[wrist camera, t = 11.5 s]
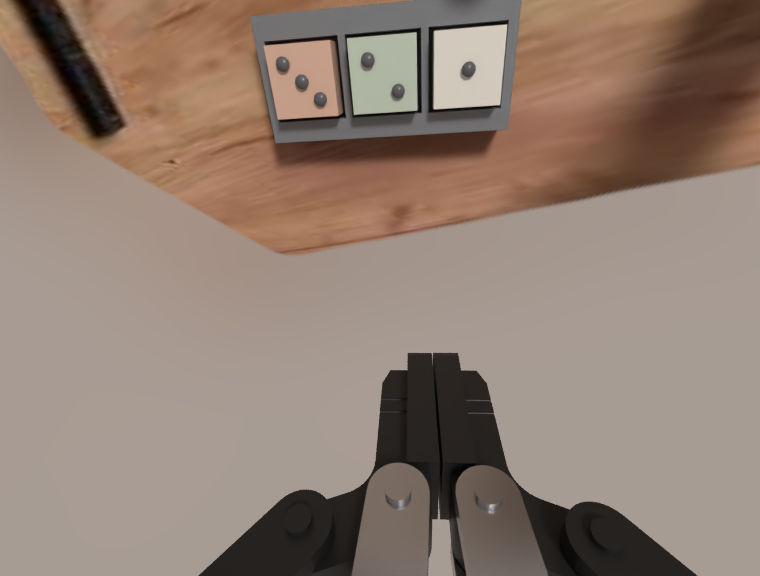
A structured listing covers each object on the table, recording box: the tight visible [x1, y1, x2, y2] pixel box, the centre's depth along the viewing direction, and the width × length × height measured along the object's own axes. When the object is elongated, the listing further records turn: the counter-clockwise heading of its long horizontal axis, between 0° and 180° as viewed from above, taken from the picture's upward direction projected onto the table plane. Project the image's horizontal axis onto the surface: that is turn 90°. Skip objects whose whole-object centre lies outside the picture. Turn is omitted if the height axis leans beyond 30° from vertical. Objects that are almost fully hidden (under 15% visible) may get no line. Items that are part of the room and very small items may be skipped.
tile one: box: [432, 24, 507, 109], centre depth 31 cm, size 6×6×3 cm
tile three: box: [264, 40, 344, 120], centre depth 32 cm, size 6×6×3 cm
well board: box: [250, 0, 521, 143], centre depth 33 cm, size 22×10×4 cm, turn 94°
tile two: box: [347, 32, 417, 115], centre depth 32 cm, size 6×6×3 cm
